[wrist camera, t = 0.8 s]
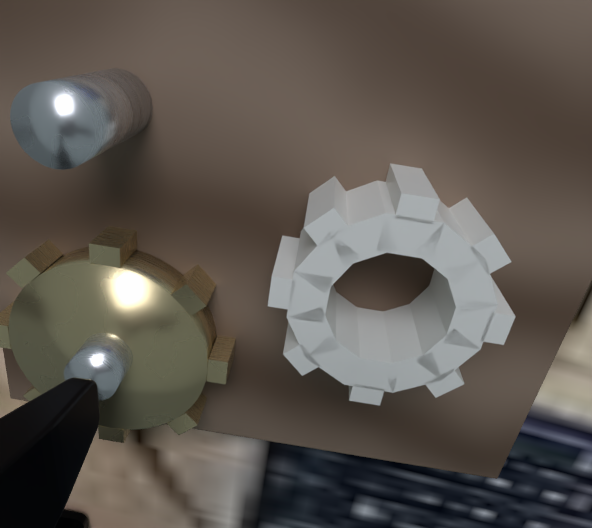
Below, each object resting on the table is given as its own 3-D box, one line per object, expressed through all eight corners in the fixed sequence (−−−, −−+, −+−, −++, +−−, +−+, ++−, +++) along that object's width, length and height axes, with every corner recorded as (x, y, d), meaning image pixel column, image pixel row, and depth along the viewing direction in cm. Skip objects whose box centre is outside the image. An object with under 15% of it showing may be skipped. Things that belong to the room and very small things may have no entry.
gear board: (487, 450, 22) (496, 478, 21) (30, 375, 22) (10, 398, 21) (686, 5, 14) (723, 3, 13) (-32, -110, 14) (-71, -125, 13)
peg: (152, 140, 15) (96, 175, 12) (90, 130, 15) (14, 162, 12) (153, 73, 15) (93, 90, 11) (86, 63, 15) (5, 75, 11)
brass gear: (225, 430, 21) (210, 488, 18) (26, 397, 21) (-19, 450, 18) (245, 248, 17) (228, 289, 14) (0, 208, 17) (-61, 241, 14)
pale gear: (452, 362, 18) (472, 420, 16) (268, 332, 18) (256, 385, 16) (517, 184, 15) (556, 218, 12) (295, 148, 15) (285, 174, 12)
